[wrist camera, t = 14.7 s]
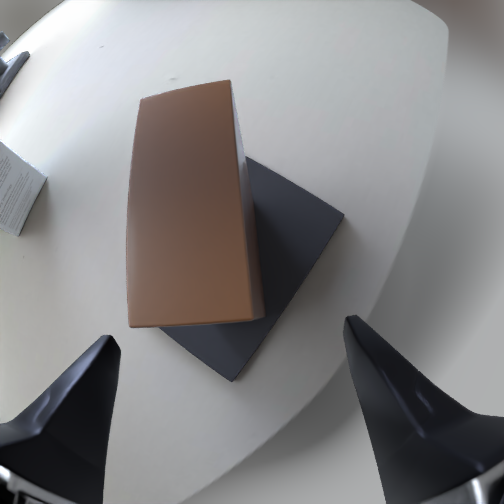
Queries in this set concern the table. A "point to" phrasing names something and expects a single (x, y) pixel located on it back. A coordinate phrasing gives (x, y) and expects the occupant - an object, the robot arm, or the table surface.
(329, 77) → the table surface
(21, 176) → the cosmetic box
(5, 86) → the faucet
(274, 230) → the mat
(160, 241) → the block
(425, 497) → the robot arm
